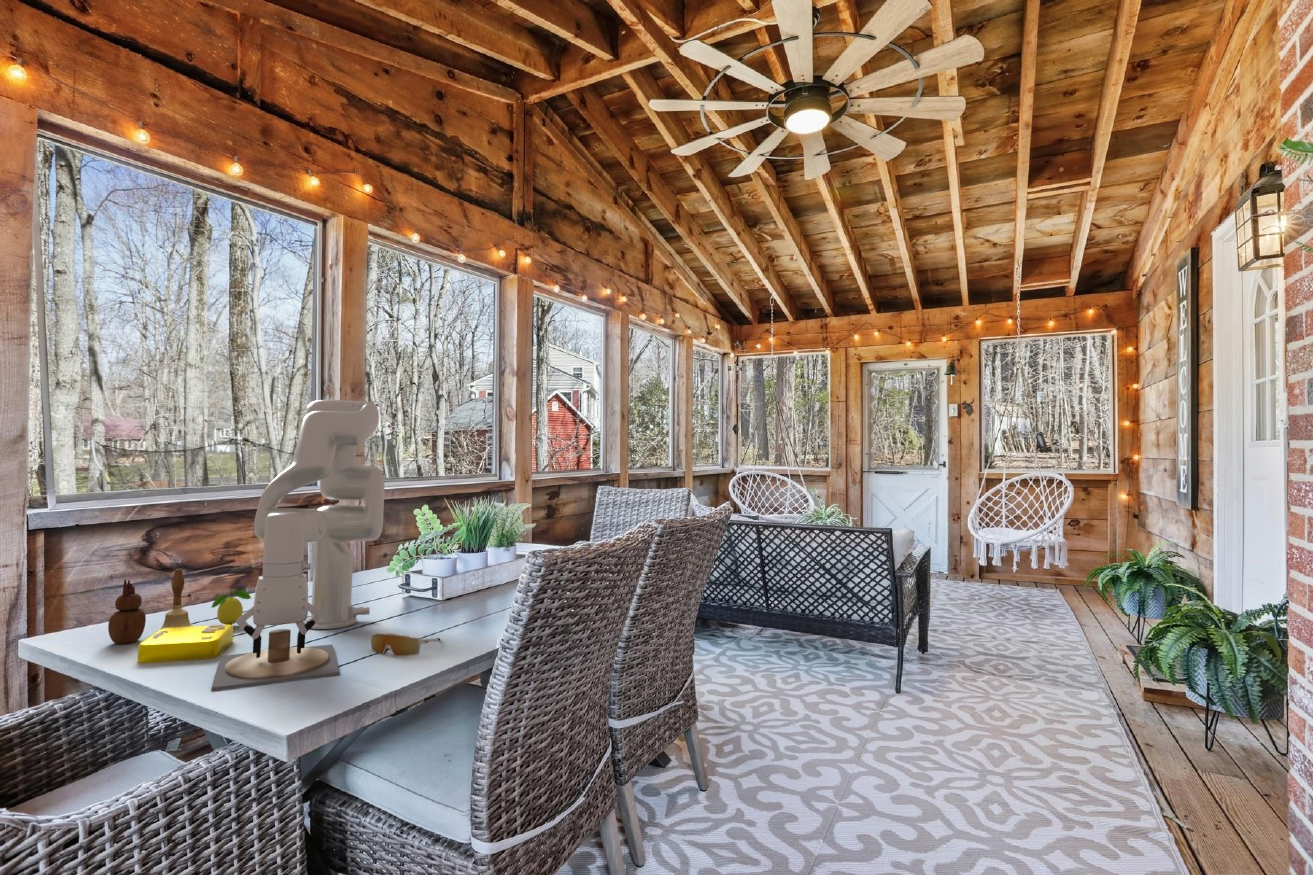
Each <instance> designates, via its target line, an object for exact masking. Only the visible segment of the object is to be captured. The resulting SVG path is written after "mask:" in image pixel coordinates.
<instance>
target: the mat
mask: <svg viewBox="0 0 1313 875" xmlns="http://www.w3.org/2000/svg"><path fill="white" fill-rule="evenodd" d="M308 647H309V648H317V649H321V650H324V651H326V652H327V653H328V661H327V662H326V663H325V664H323V665H322V666H320V667H318V668H315V669H313V670H310V671H306V672H303V673H299V674H294V675H289V676H282V677H274V678H259V679H250V678H239V677H234V676H230V675H228V674H227V673H226V672H225V666H226V664H227V663H228V662H229V661H231V660H233V659H235V658H237V657H240V656H242V655H246V654H249V653H250V652H245V653H235V654H225V655H220V657H219V661H218V664H217V668H216V671H215V675H214V677H213V681H212V684H211V686H210V688H211V690H210V692H212V691H221V690H228V689H237V688H246V687H253V686H261V685H270V684H277V683H278V684H279V683H286V682H292V681H301V680H308V679H310V680H311V679H317V678H323V677H324V678H325V677H333V676H334V677H335V676H340V674H341V673H340V669H339V668H340V667H339V665H338V660H337V657H336V652H335V649H334V645H333V644H331V643H330V644H324V645H323V644H322V645H315V646H308Z"/></svg>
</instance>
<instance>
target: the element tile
mask: <svg viewBox="0 0 1313 875" xmlns="http://www.w3.org/2000/svg"><path fill="white" fill-rule="evenodd" d="M160 629H161V628H160ZM160 629H159V630H157V631H155V632H154V633H153V634H151V635H149V636H148V637H147V638H145V639H143V641H140V642H139V644H138V646H137V663H139V664H153V663H170V662H184V661H200V660H201V661H202V660H210V659H215V658H218V657H219V656H220V657H221V656H222V654H223V653H224V652H225V651H226V650H227V649H228V647H230V646H231V645H232V644H233V640H234V626H233V624H232V625H225V624H210V625H197V626H196V625H195V626H194V625H192V626H191V627H172V628H163V629H161V630H160Z"/></svg>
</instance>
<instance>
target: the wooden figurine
mask: <svg viewBox="0 0 1313 875" xmlns="http://www.w3.org/2000/svg"><path fill="white" fill-rule="evenodd" d="M142 600H143V598H142V596H141V594H139V593H136V589H135V586H134V585H133V583H131V580H130V579H128V581H127V579H126V578H125V579H123V587H122V594H120V595H119V596H118V597H117V598H116V599H115V602H114V603H115V604H114V605H115V606H114V607H115V609H116V610H117V611H115V612H114V613H113V614H112V615H111V616H110V618H109V620H108V625H107V626H108V628H107V629H108V630H107V632H108V636H109V637H110V640H111V641H112V642H113V643H114V644H116V645H117V644H118V645H126V644H132V643H135V642H136V641H138V640H140V638H142V635H143V633H144V631H145V627H146V621H147V620H146V619H147V617H146V613H145V611H144V610H143V609H142V608H141V606H142V602H143V601H142Z"/></svg>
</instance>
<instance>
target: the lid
mask: <svg viewBox="0 0 1313 875" xmlns="http://www.w3.org/2000/svg"><path fill="white" fill-rule="evenodd" d="M291 634H292V633H291V629H287V628H279V629H273V630H270V631H269V632H268V646H267V647H268V649H264V650H261V655H260V657H259V658H256V654H257V653H253V652H248V653H249V654H246V655H242V656H240V657H237V658H235V659H233V660H231V661H229V662H228V663H227V664H226V666H225V672H226V673H227V674H228V675H230V676H234V677H239V678H250V679H259V678H274V677H282V676H289V675H294V674H299V673H303V672H306V671H310V670H313V669H315V668H318V667H320V666H322V665H323V664H325V663H326V662H327V661H328V653H327V652H326V651H324V650H321V649H317V648H309V647H310V646H305V648H301V653H300V654H298V653H297V646H294V647H293V646H291Z"/></svg>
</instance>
